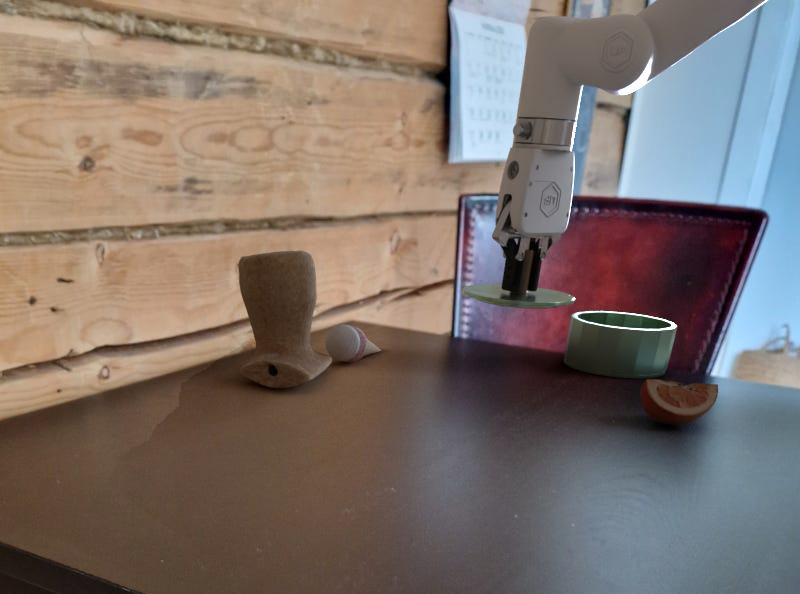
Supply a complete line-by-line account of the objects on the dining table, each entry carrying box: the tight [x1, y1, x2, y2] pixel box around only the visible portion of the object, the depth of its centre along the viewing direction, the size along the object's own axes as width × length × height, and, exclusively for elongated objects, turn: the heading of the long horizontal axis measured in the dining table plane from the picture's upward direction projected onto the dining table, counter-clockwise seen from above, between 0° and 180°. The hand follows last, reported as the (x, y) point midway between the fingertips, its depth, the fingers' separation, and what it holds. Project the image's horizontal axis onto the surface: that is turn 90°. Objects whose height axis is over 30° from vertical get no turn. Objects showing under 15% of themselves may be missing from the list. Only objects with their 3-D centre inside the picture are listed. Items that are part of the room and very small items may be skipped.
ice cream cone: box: [324, 324, 382, 363], centre depth 121 cm, size 5×5×15 cm
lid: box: [461, 248, 576, 310], centre depth 118 cm, size 15×15×7 cm
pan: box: [563, 310, 678, 380], centre depth 124 cm, size 14×14×6 cm
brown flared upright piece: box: [237, 250, 333, 389], centre depth 106 cm, size 15×12×15 cm
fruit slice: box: [639, 378, 719, 426], centre depth 98 cm, size 8×7×5 cm
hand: (519, 289), depth 118 cm, fingers closed on lid, 2 cm apart
